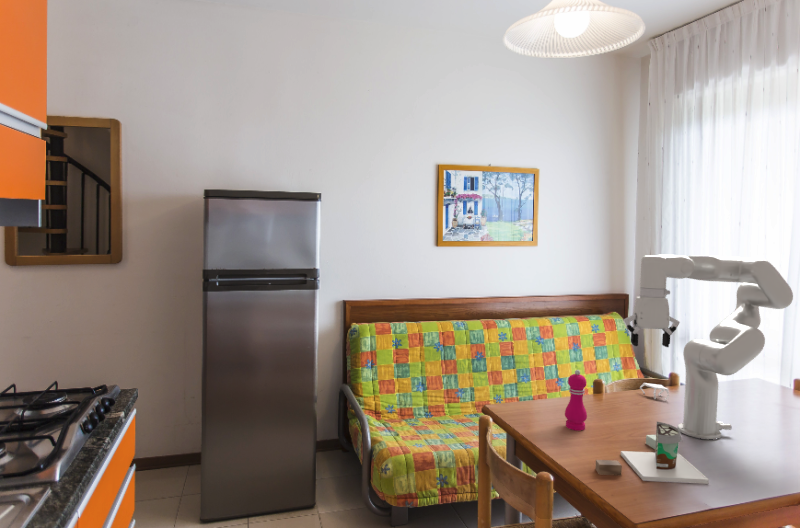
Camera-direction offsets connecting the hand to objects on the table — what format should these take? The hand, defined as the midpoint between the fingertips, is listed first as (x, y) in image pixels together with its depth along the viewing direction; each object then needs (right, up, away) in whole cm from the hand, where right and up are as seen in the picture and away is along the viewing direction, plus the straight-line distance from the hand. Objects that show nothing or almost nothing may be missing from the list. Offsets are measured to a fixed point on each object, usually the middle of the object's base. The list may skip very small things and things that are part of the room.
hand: (650, 345), depth 163 cm
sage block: (-1, -31, -6) cm, 32 cm away
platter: (-7, -31, -21) cm, 38 cm away
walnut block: (-24, -31, -24) cm, 46 cm away
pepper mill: (-21, -30, +9) cm, 38 cm away
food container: (-5, -30, -21) cm, 37 cm away
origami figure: (+24, -29, +45) cm, 59 cm away
